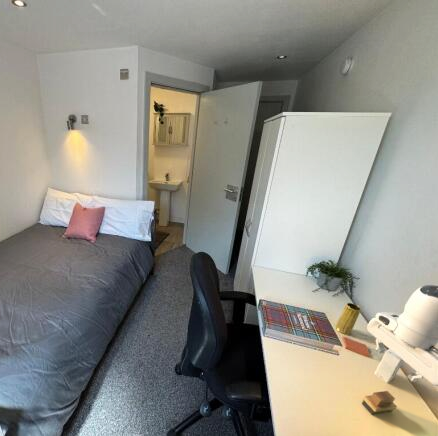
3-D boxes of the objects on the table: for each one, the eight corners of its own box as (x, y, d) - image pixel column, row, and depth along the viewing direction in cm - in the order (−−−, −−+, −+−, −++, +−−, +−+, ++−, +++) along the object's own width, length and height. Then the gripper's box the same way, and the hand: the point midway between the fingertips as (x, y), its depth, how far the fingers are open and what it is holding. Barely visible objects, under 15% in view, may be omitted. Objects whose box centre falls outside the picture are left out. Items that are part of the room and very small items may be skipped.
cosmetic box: (387, 384, 87) (401, 361, 82) (372, 373, 91) (385, 351, 86) (394, 377, 89) (408, 355, 85) (380, 367, 93) (392, 345, 89)
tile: (365, 346, 102) (366, 344, 101) (368, 357, 97) (370, 355, 97) (342, 338, 106) (343, 336, 105) (345, 348, 101) (346, 346, 100)
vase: (349, 328, 111) (360, 305, 106) (352, 337, 106) (363, 313, 101) (334, 322, 114) (344, 300, 109) (335, 331, 109) (346, 307, 104)
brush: (380, 399, 81) (387, 387, 79) (392, 412, 78) (401, 400, 75) (360, 402, 80) (367, 390, 78) (372, 415, 77) (380, 403, 74)
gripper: (471, 365, 61) (444, 398, 66) (387, 308, 79) (371, 338, 85) (451, 367, 60) (425, 400, 65) (371, 309, 79) (356, 339, 84)
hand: (394, 364), depth 75 cm, fingers open, 8 cm apart
